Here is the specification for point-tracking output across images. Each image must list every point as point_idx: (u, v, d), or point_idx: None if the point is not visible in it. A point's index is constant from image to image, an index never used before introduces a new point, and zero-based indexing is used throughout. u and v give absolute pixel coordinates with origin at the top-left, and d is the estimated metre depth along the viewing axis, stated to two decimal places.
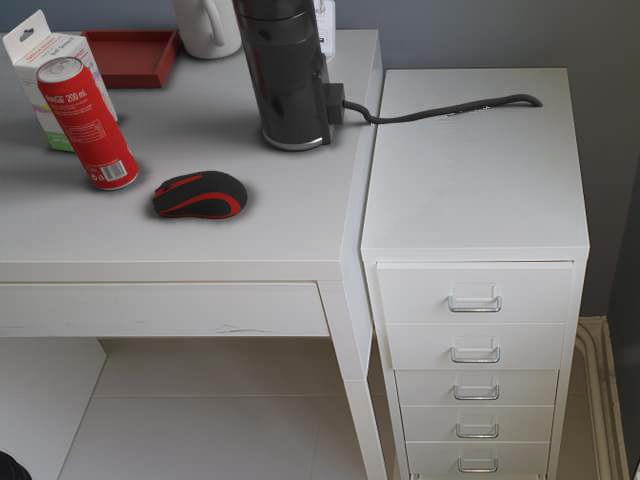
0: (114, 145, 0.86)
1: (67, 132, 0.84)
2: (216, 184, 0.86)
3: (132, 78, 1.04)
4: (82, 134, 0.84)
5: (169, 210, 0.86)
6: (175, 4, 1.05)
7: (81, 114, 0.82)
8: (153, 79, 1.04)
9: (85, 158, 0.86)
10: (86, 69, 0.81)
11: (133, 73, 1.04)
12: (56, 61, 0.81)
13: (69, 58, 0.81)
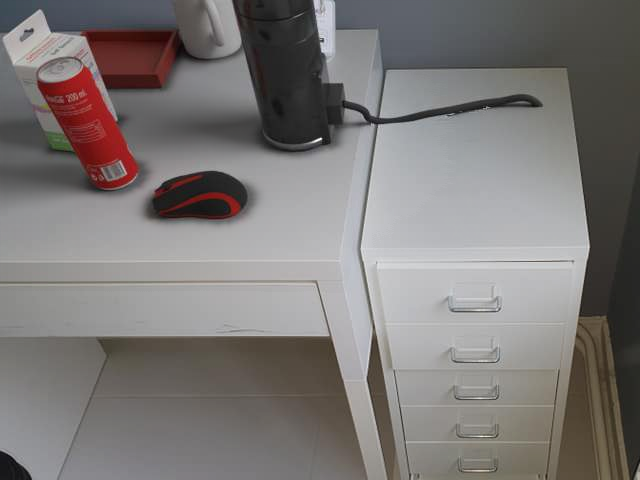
0: (114, 145, 0.86)
1: (67, 132, 0.84)
2: (216, 184, 0.86)
3: (132, 78, 1.04)
4: (82, 134, 0.84)
5: (169, 210, 0.86)
6: (175, 4, 1.05)
7: (81, 114, 0.82)
8: (153, 79, 1.04)
9: (85, 158, 0.86)
10: (86, 69, 0.81)
11: (133, 73, 1.04)
12: (56, 61, 0.81)
13: (69, 58, 0.81)
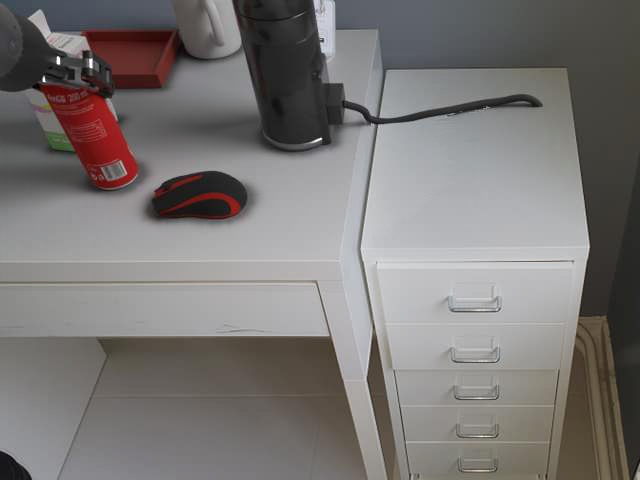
0: (114, 145, 0.86)
1: (68, 131, 0.83)
2: (216, 184, 0.86)
3: (132, 78, 1.04)
4: (83, 134, 0.84)
5: (169, 210, 0.86)
6: (175, 4, 1.05)
7: (82, 114, 0.82)
8: (153, 79, 1.04)
9: (86, 157, 0.86)
10: None
11: (133, 73, 1.04)
12: None
13: None
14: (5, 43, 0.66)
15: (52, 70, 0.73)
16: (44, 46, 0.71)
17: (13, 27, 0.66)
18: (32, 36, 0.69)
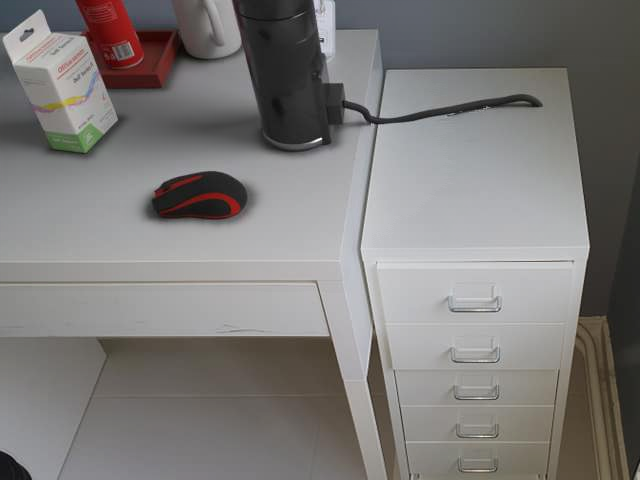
0: (123, 27, 1.03)
1: (85, 13, 1.00)
2: (216, 185, 0.86)
3: (132, 78, 1.04)
4: (98, 15, 1.00)
5: (169, 211, 0.86)
6: (175, 4, 1.05)
7: None
8: (153, 79, 1.04)
9: (100, 37, 1.03)
10: None
11: (133, 73, 1.04)
12: None
13: None
14: None
15: None
16: None
17: None
18: None
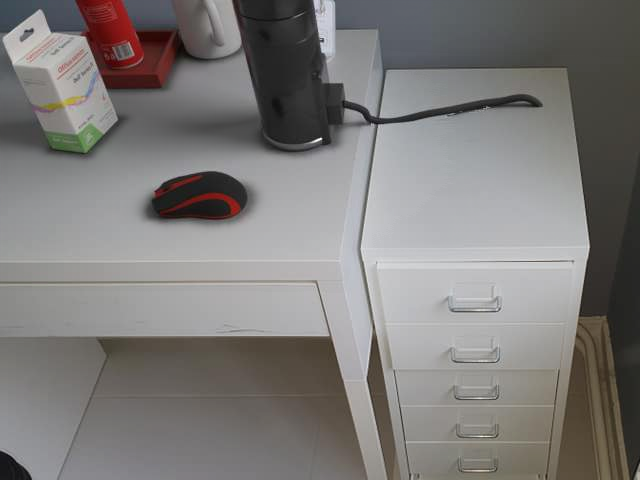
0: (123, 27, 1.03)
1: (85, 13, 1.00)
2: (216, 185, 0.86)
3: (132, 78, 1.04)
4: (98, 15, 1.00)
5: (169, 211, 0.86)
6: (175, 4, 1.05)
7: None
8: (153, 79, 1.04)
9: (100, 37, 1.03)
10: None
11: (133, 73, 1.04)
12: None
13: None
14: None
15: None
16: None
17: None
18: None
